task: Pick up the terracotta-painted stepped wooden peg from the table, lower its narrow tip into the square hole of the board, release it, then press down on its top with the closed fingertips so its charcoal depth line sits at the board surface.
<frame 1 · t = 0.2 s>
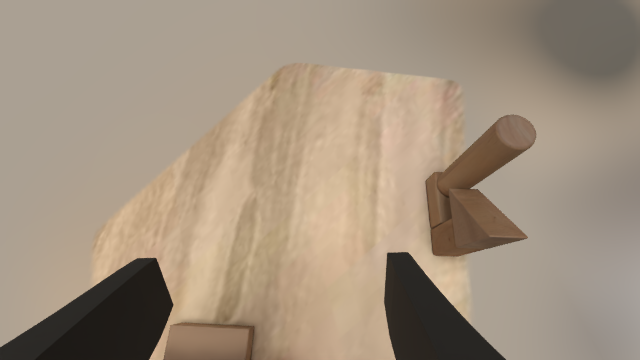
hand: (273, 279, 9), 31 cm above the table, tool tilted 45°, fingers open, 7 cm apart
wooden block: (440, 217, 42), on the table
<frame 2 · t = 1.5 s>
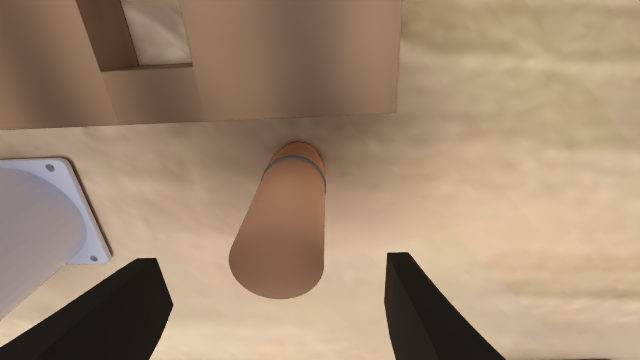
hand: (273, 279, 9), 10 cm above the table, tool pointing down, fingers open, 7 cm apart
board: (186, 17, 15), on the table
peg: (298, 162, 18), on the table
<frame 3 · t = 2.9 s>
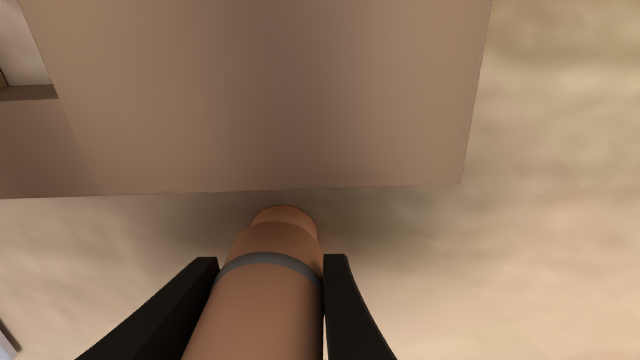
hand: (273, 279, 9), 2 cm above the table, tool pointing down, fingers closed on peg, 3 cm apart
board: (76, 3, 8), on the table
peg: (283, 234, 12), on the table, touching gripper
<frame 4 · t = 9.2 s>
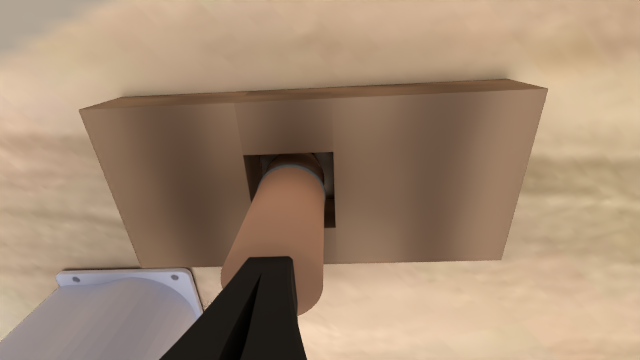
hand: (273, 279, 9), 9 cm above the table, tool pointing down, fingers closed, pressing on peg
board: (314, 168, 17), on the table
peg: (297, 169, 17), resting in board, touching gripper
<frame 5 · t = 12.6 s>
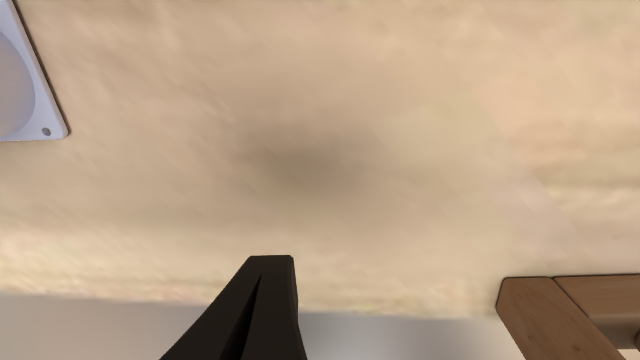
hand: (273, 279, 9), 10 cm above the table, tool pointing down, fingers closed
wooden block: (566, 290, 23), on the table
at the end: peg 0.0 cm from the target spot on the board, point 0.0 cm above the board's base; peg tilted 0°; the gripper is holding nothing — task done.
